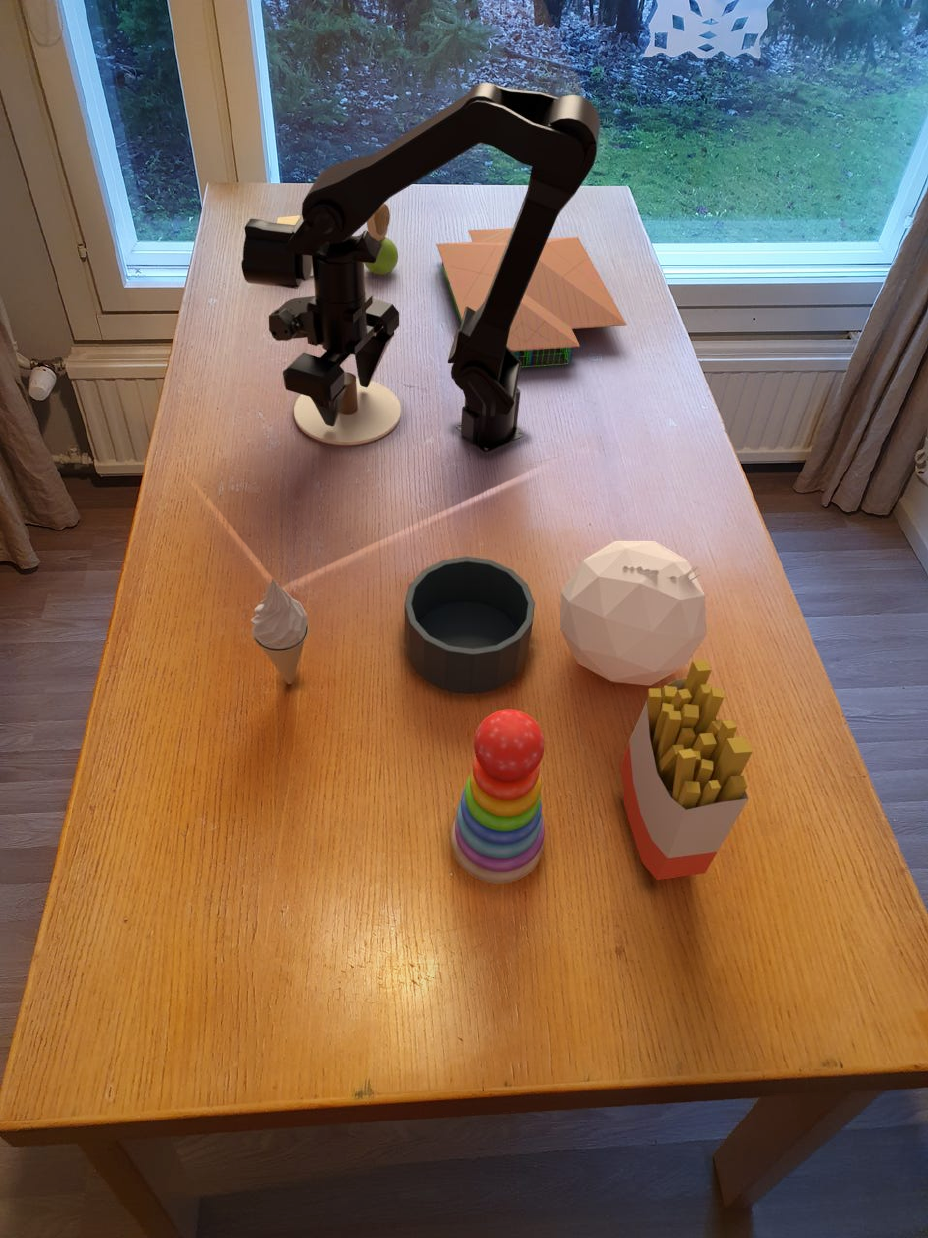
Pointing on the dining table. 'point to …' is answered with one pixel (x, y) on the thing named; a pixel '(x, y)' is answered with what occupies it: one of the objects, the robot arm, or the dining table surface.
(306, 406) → the round peg stand
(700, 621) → the geodesic sphere
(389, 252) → the snail figurine
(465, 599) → the container
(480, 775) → the stacking toy
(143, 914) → the dining table surface
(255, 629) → the ice cream cone
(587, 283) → the house
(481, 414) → the robot arm
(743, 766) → the french fries container
